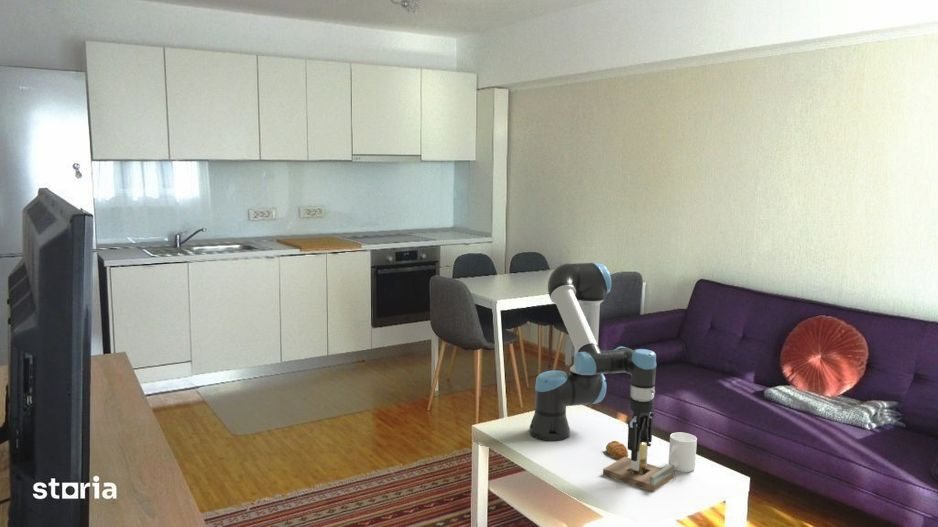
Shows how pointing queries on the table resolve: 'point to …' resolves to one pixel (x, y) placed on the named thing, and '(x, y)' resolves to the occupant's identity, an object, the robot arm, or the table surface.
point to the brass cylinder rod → (642, 458)
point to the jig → (648, 481)
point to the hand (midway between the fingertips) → (638, 467)
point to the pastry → (616, 450)
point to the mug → (682, 451)
